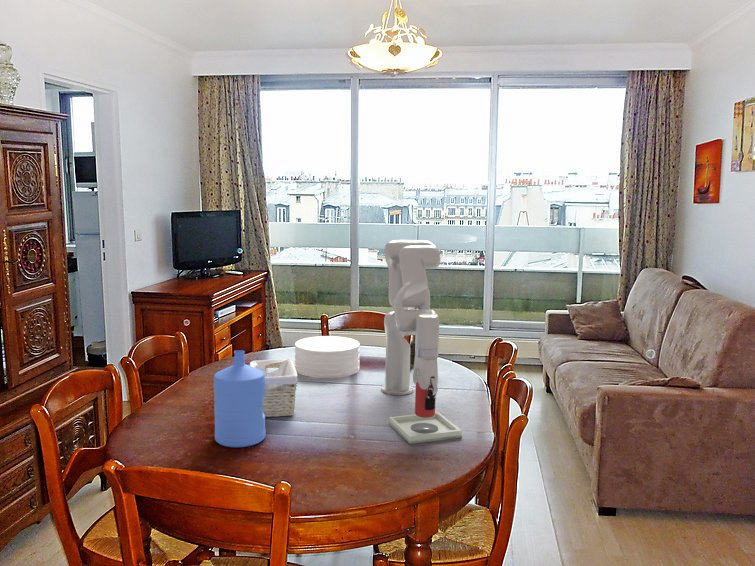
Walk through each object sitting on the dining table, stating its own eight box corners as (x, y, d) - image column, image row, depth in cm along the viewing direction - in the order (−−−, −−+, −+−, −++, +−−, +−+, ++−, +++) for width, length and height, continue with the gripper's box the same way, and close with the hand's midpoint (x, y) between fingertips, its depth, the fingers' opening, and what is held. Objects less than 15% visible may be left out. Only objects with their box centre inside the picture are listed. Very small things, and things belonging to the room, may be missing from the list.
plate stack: (358, 379, 268) (358, 352, 267) (290, 377, 268) (290, 350, 267) (360, 361, 296) (360, 336, 294) (299, 359, 296) (299, 335, 294)
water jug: (241, 452, 192) (240, 361, 188) (203, 441, 200) (201, 353, 196) (276, 436, 205) (275, 350, 201) (239, 425, 213) (238, 343, 209)
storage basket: (249, 397, 242) (249, 359, 240) (293, 395, 245) (293, 357, 243) (250, 420, 219) (249, 378, 217) (298, 417, 222) (298, 376, 220)
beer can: (437, 413, 213) (438, 378, 211) (430, 419, 207) (432, 383, 205) (419, 410, 215) (420, 375, 214) (411, 416, 210) (412, 380, 208)
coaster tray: (388, 424, 217) (389, 417, 217) (437, 418, 223) (437, 411, 223) (409, 444, 201) (409, 436, 200) (461, 437, 207) (461, 430, 206)
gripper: (405, 346, 215) (404, 398, 217) (427, 359, 199) (425, 415, 201) (426, 345, 217) (424, 396, 220) (449, 358, 201) (447, 413, 204)
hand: (425, 405), depth 211 cm, fingers closed on beer can, 6 cm apart
